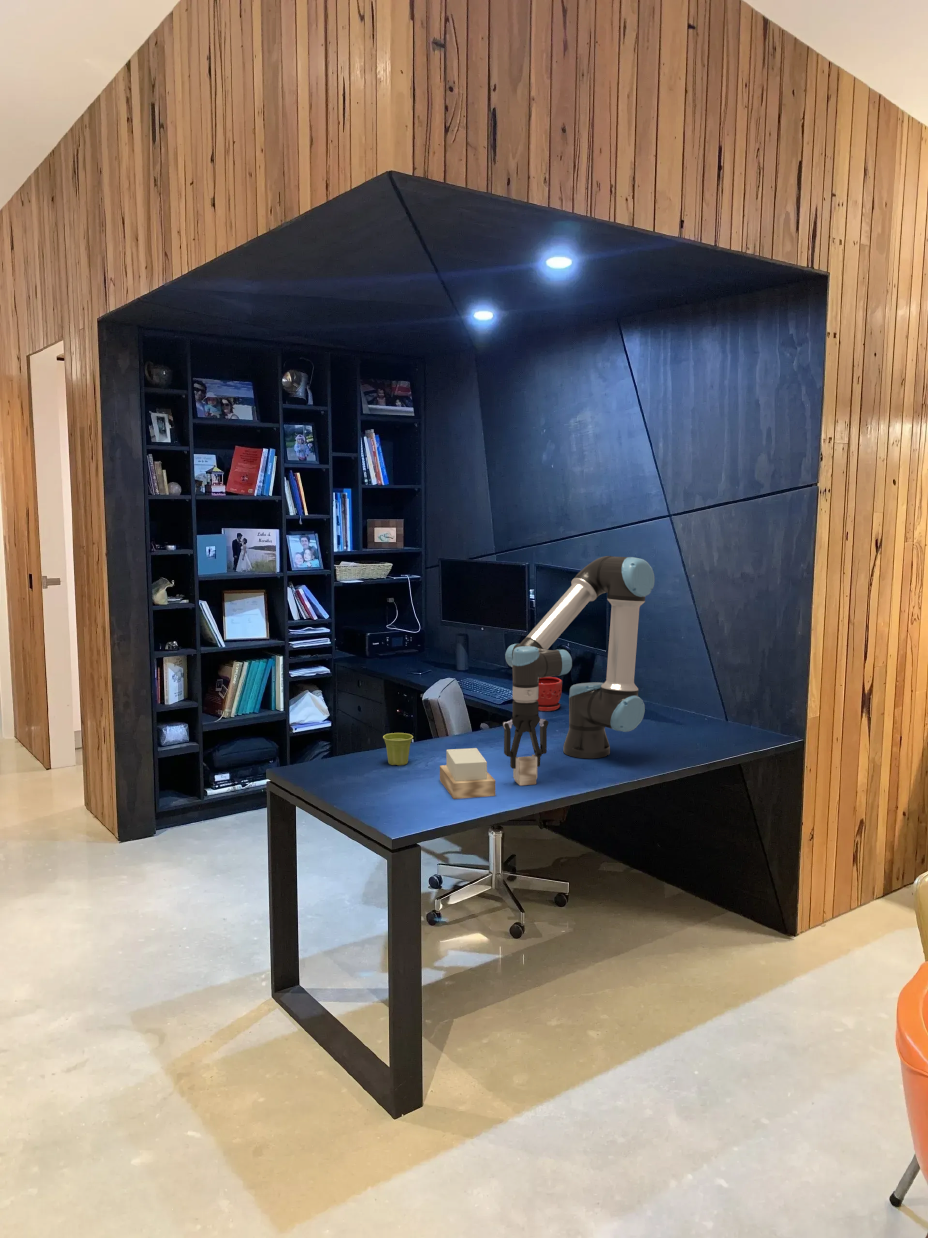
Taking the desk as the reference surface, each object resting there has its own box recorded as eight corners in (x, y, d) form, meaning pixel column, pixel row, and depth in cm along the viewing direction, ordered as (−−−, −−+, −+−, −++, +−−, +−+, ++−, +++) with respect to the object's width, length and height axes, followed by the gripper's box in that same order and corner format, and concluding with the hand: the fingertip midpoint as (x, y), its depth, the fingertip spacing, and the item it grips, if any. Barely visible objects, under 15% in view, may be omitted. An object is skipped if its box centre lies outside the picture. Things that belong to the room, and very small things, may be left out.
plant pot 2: (525, 706, 370) (525, 677, 368) (556, 705, 372) (556, 676, 370) (533, 713, 357) (533, 683, 355) (565, 712, 359) (566, 682, 358)
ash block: (530, 779, 270) (530, 756, 269) (536, 784, 266) (536, 760, 265) (514, 780, 269) (514, 757, 268) (519, 785, 264) (519, 762, 263)
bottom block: (479, 779, 273) (479, 762, 272) (495, 797, 256) (495, 780, 255) (439, 782, 270) (439, 765, 269) (453, 801, 253) (453, 783, 252)
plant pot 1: (402, 757, 294) (402, 731, 293) (419, 764, 287) (418, 737, 286) (377, 762, 289) (377, 735, 288) (393, 769, 281) (393, 741, 280)
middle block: (476, 764, 271) (476, 748, 270) (486, 779, 256) (486, 762, 255) (446, 766, 269) (446, 749, 268) (455, 781, 254) (455, 763, 254)
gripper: (499, 704, 258) (499, 784, 261) (559, 701, 263) (558, 779, 266) (492, 699, 266) (492, 777, 268) (550, 695, 270) (549, 772, 273)
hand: (525, 778), depth 267 cm, fingers closed on ash block, 5 cm apart
